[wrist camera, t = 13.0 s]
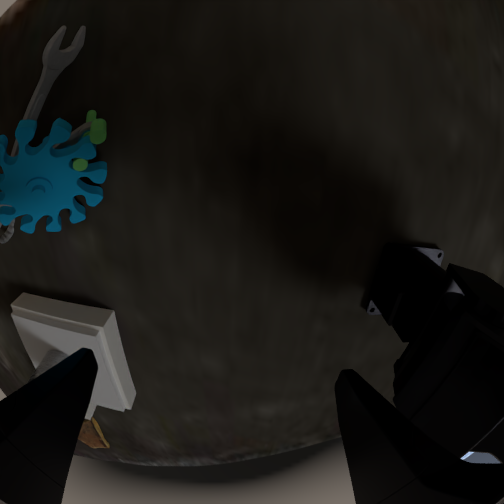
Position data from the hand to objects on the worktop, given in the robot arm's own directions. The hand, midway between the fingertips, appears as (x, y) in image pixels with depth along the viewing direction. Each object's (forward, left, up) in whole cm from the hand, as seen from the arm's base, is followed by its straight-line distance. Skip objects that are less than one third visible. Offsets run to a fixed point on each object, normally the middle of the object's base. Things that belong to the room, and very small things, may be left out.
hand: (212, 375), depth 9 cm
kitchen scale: (+16, +14, -12) cm, 25 cm away
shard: (+23, +34, -13) cm, 43 cm away
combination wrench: (+17, -8, -12) cm, 22 cm away
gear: (+12, -5, -12) cm, 18 cm away
